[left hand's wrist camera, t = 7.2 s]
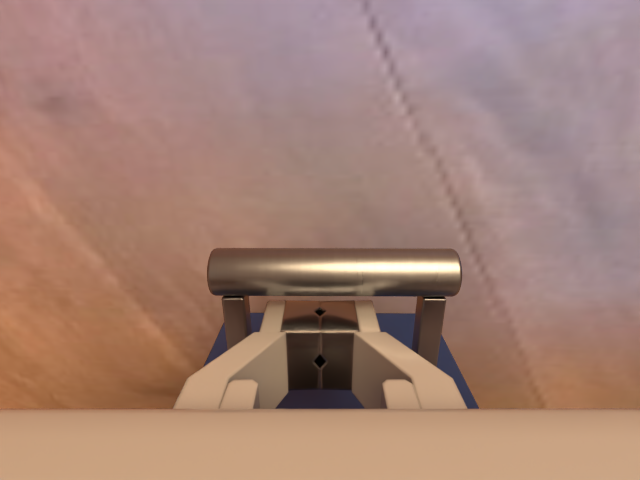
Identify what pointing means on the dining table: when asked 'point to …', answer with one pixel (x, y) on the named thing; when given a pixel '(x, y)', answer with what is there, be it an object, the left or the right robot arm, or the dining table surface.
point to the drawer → (341, 280)
